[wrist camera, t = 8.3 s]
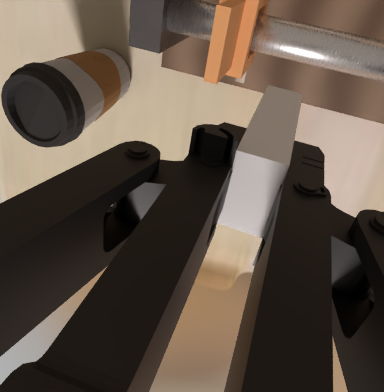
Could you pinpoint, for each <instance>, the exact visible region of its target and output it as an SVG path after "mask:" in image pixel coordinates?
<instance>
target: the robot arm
mask: <svg viewBox="0 0 384 392" xmlns="http://www.w3.org/2000/svg"><path fill="white" fill-rule="evenodd" d="M302 96H303V94H302V93H298V92H294V91H290V90H286V89H282V88H278V87H274V86H270V85H268V86H267V88H266V90H265V92H264V94H263V96H262V99H261V101H260V103H259V105H258V107H257V109H256V111H255V113H254V115H253V117H252V119H251V121H250V123H249V125H248V127H247V128H243V127H240V126H236V125H233V124H229V123H225V122H224V123H222V124H219V125H213V124H203V125H198V126H196V127H194V128H193V131H192V136H191V142H190V148H189V154H188V155H187V157H186V158H185V160H184V161H168V160H160V151H159V150H158V149H157V148H156V147H154V146H153V145H151V144H148V143H145V142H142V141H140V142H139V141H130V142H124V143H121V144H119V145H117V146H115V147H113V148H111V149H109V150H107V151H105V152H103V153H101V154H99V155H97V156H95V157H93V158H91V159H89V160H87V161H85V162H83V163H81V164H79V165H77V166H75V167H73V168H71V169H69V170H67V171H65V172H63V173H61V174H59V175H57V176H55V177H53V178H51V179H49V180H47V181H45V182H43V183H41V184H39V185H37V186H35V187H33V188H31V189H29V190H27V191H25V192H23V193H21V194H19V195H16V196H14V197H12V198H10V199H8V200H6V201H4V202H2V203H0V356H1V355H3V354H4V353H5V352H6V351H8V350H9V349H10V348H11V347H12V346H14V345H15V344H16V343H17V342H18V341H19V340H20V339H22V338H23V337H24V336H25V335H26V334H28V333H29V332H30V331H31V330H32V329H34V328H35V327H36V326H37V325H38V324H39V323H41V322H42V321H43V320H44V319H45V318H46V317H48V316H49V315H50V314H51V313H52V312H54V311H55V310H56V309H57V308H58V307H59V306H61V305H62V304H63V303H64V302H65V301H67V300H68V299H69V298H70V297H71V296H72V295H74V294H75V293H76V292H77V291H78V290H80V289H81V288H82V287H83V286H84V285H85V284H87V283H88V282H89V281H90V280H91V279H93V278H94V277H95V276H96V275H97V274H98V273H100V272H101V271H102V270H103V269H104V268H106V267H107V266H108V267H107V268H106V270H105V271H104V272H103V274H102V275H101V276H100V278H99V280H98V281H97V282H96V283H95V285H94V286H93V288H92V289H91V290H90V292H89V293H88V295H87V296H86V297H85V299H84V300H83V301H82V303H81V304H80V306H79V307H78V309H77V310H76V311H75V313H74V314H73V316H72V317H71V318H70V320H69V321H68V322H67V324H66V325H65V327H64V328H63V329H62V331H61V332H60V333H59V335H58V336H57V338H56V339H55V340H54V342H53V343H52V345H51V346H50V347H49V349H48V350H47V351H46V353H45V354H44V355H43V356H42V357H41V358H40V359H39V360H37V361H36V362H30V363H25V364H22V365H21V366H20V367H18V368H17V369H16V370H14V371H13V372H12V373H11V374H10V375H9V376H8V377H7V378H6V379H5V381H4V382H3V383H2V384H1V385H0V392H149V390H150V388H151V385H152V383H153V381H154V378H155V376H156V373H157V371H158V368H159V366H160V363H161V361H162V359H163V356H164V354H165V352H166V349H167V347H168V344H169V342H170V339H171V337H172V334H173V332H174V330H175V327H176V324H177V322H178V320H179V317H180V315H181V313H182V310H183V308H184V305H185V303H186V301H187V298H188V296H189V293H190V291H191V288H192V286H193V284H194V281H195V279H196V276H197V274H198V272H199V269H200V267H201V264H202V262H203V259H204V257H205V255H206V252H207V250H208V247H209V245H210V242H211V240H212V238H213V235H214V232H215V229H216V225H217V221H218V224H221V225H224V226H227V227H230V228H233V229H236V230H239V231H242V232H245V233H248V234H251V235H254V236H257V237H260V238H263V239H262V242H261V244H260V247H259V250H258V252H257V255H256V258H255V260H254V263H253V265H254V266H255V267H254V271H253V275H252V279H251V283H250V287H249V291H248V296H247V300H246V304H245V308H244V312H243V316H242V321H241V324H240V329H239V333H238V337H237V341H236V345H235V349H234V353H233V357H232V361H231V366H230V369H229V374H228V378H227V382H226V386H225V390H224V392H333V348H332V347H333V345H332V344H333V343H332V335H333V339H334V342H335V346H336V350H337V353H338V357H339V361H340V364H341V368H342V371H343V376H344V379H345V383H346V386H347V390H348V392H384V212H380V211H376V210H363V211H360V212H359V213H358V215H357V217H356V218H355V217H353V216H351V215H349V214H347V213H345V212H343V211H341V210H339V209H338V208H336V207H335V206H334V205H332V204H331V195H330V192H329V190H328V189H327V188H326V187H325V186H324V154H323V153H322V151H321V150H320V148H319V147H316V146H312V145H309V144H305V143H301V142H298V141H294V139H295V133H296V128H297V123H298V117H299V112H300V106H301V101H302ZM112 204H113V205H112ZM111 205H112V206H111ZM110 206H111V207H110ZM218 219H219V220H218ZM263 235H264V236H263Z"/></svg>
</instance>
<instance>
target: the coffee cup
mask: <svg viewBox="0 0 384 392" xmlns="http://www.w3.org/2000/svg"><path fill="white" fill-rule="evenodd" d="M129 86H130V71H129V68H128V66H127V64H126V62H125V60H124V59H123V58H122V57H121V56H120V55H118V54H117V53H116V52H114V51H112V50H109V49H104V48H100V49H96V50H92V51H85V52H81V53H77V54H72V55H68V56H64V57H60V58H57V59H55V60H51V61H47V62H43V63H35V62H33V63H30V64H26V65H24V66H23V67H22V68H19V69H17V70H16V71H15V72H13V73H12V74H11V76H10V78H9V79H8V80H7V81H6V82H5V84H4V86H3V88H2V94H1V98H2V106H3V109H4V112H5V115H6V116H7V118H8V120H9V122H10V124H11V125H12V126H13V128H14V129H15V130H16V131H17V132H18V133H19V134H20V135H21V136H22V137H23V138H24V139H26V140H27V141H29V142H30V143H32V144H35V145H37V146H41V147H53V146H54V147H56V146H62V145H65V144H67V143H68V142H71V141H73V140H75V139H76V138H77V137H78V136H79V135H80V134H81V133H82V131H83V130H84V129H85V128H86V127H88V126H89V125H90V124H91V123H92V122H94V121H95V120H97V119H98V118H99V117H100V116H102V115H103V114H104V113H105V112H106V111H107V110H109V109H110V108H111V107H112V106H113V105H114V104H115V103H116V102H117V101H118V100H119V99H120V98H121V97H123V96H124V95H125V93H126V92H127V91H128V88H129Z"/></svg>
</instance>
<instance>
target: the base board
mask: <svg viewBox="0 0 384 392" xmlns="http://www.w3.org/2000/svg"><path fill="white" fill-rule="evenodd" d="M203 1H207V2H212V3H216V4H219V1H220V0H203ZM265 14H267V15H271V16H276V17H280V18H285V19H289V20H294V21H299V22H303V23H308V24H312V25H317V26H321V27H326V28H330V29H335V30H340V31H344V32H349V33H353V34H358V35H362V36H367V37H371V38H376V39H381V40H384V0H268V4H267V8H266V12H265ZM209 46H210V41H209V40H204V39H200V38H196V37H192V36H190V37H188V38H186V39H185V40H183V41H181V42H179V43H177V44H175V45H174V46H172V47H170V48H168V49H166V50H165V51H163V55H162V65H161V67H165V68H169V69H172V70H176V71H180V72H184V73H188V74H192V75H196V76H200V77H204V75H205V70H206V64H207V58H208V52H209ZM219 82H223V83H227V84H231V85H235V86H239V87H242V88H246V89H250V90H254V91H258V92H262V93H264V92H265V90H266V88H267V86H268V85H270V86H274V87H278V88H282V89H286V90H290V91H294V92H298V93H302V94H303V96H302V101H301V103H305V104H309V105H312V106H316V107H320V108H324V109H328V110H332V111H336V112H340V113H344V114H348V115H351V116H355V117H359V118H363V119H367V120H371V121H375V122H379V123H383V124H384V82H381V81H376V80H372V79H368V78H364V77H360V76H355V75H351V74H347V73H343V72H339V71H335V70H330V69H326V68H322V67H318V66H314V65H309V64H305V63H301V62H297V61H293V60H288V59H284V58H280V57H276V56H272V55H267V54H263V53H259V52H255V56H254V60H253V63H252V64H251V65H250V67H249V68H248V70H247V71H246V72H245V74H244V75H243V76H242V78H241V79H240V78H236V77H232V76H228V75H224V76H223V77H222V79H221V80H220V81H219Z"/></svg>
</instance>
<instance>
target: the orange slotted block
mask: <svg viewBox="0 0 384 392" xmlns="http://www.w3.org/2000/svg"><path fill="white" fill-rule="evenodd" d="M267 4H268V0H220V1H219V4H217V5H216V11H215V17H214V23H213V29H212V35H211V40H210V46H209V52H208V58H207V64H206V70H205V75H204V81H206V82H210V83H214V84H217V83H218V82H219V81H220V80H221V79H222V77H223V76H224V75H228V76H232V77H236V78H240V79H241V78H242V76H243V75H244V74H245V72H246V71H247V70H248V68H249V67H250V65H251V64H252V63H253V60H254V56H255V51H251V50H249V49H250V45H251V41H252V37H253V33H254V28H255V24H256V20H257V16H258V13H262V14H265V12H266V8H267Z"/></svg>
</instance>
